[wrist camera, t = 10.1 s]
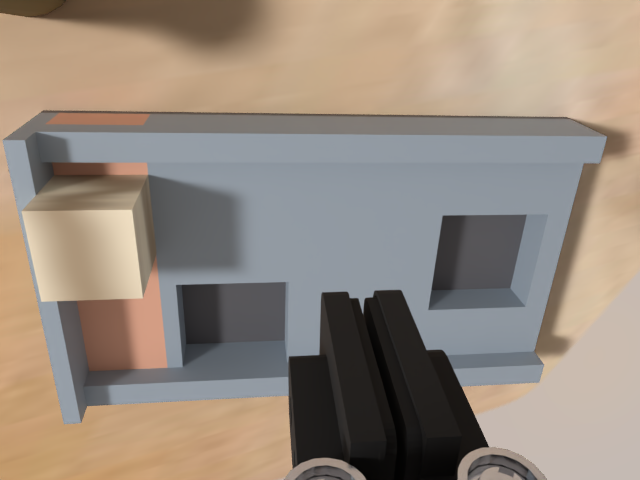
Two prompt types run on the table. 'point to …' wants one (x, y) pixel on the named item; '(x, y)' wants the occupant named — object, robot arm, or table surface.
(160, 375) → the box
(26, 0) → the cork
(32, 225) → the maple block
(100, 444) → the table surface
